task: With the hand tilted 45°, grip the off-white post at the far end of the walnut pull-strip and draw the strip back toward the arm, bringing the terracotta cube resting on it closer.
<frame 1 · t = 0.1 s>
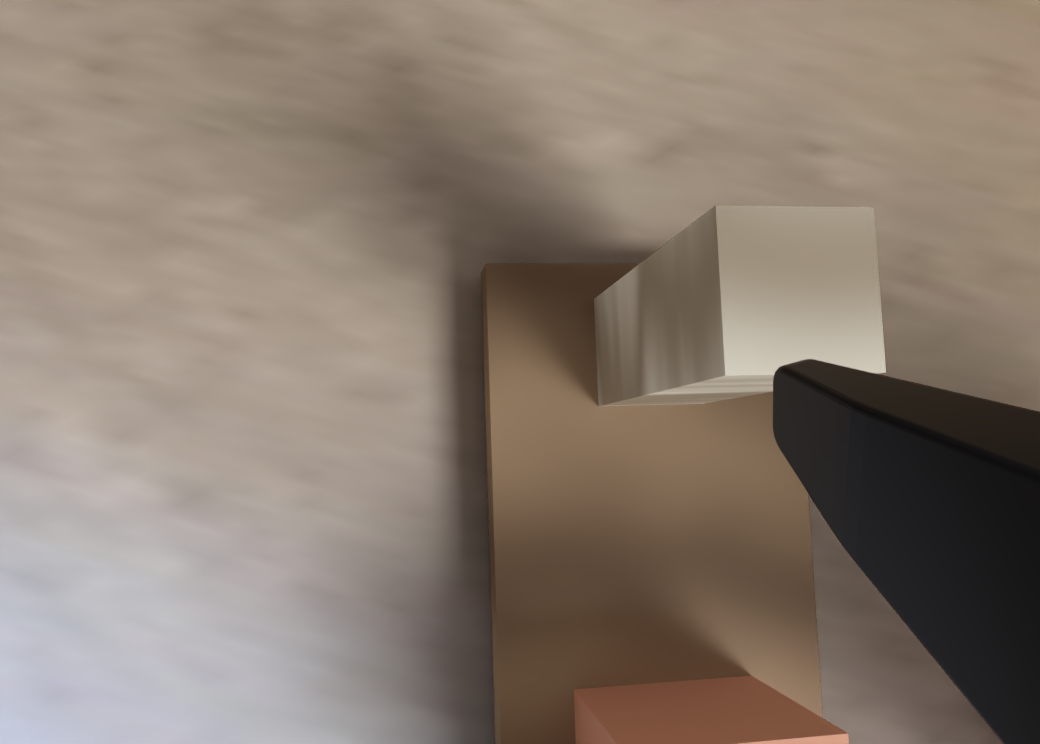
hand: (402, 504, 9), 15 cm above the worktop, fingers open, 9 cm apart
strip: (713, 613, 19), point 5 cm above the worktop, slide at 0.0 cm, touching cube
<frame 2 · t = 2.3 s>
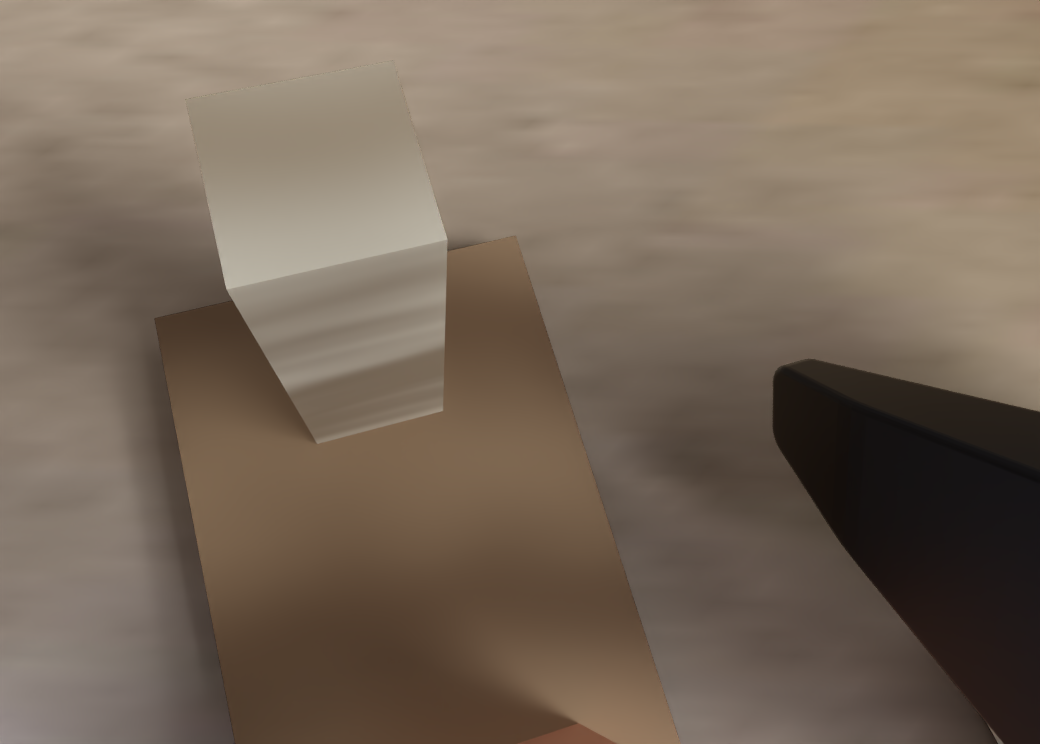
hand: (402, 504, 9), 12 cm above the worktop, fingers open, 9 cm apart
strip: (436, 640, 15), point 5 cm above the worktop, slide at 0.0 cm, touching cube
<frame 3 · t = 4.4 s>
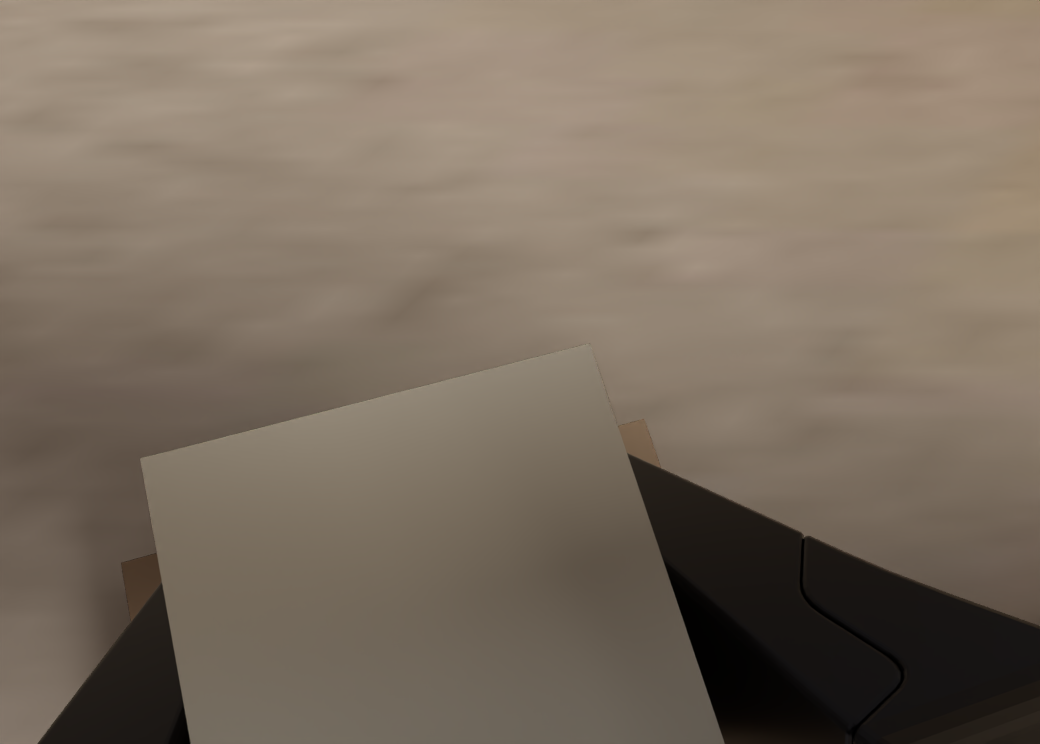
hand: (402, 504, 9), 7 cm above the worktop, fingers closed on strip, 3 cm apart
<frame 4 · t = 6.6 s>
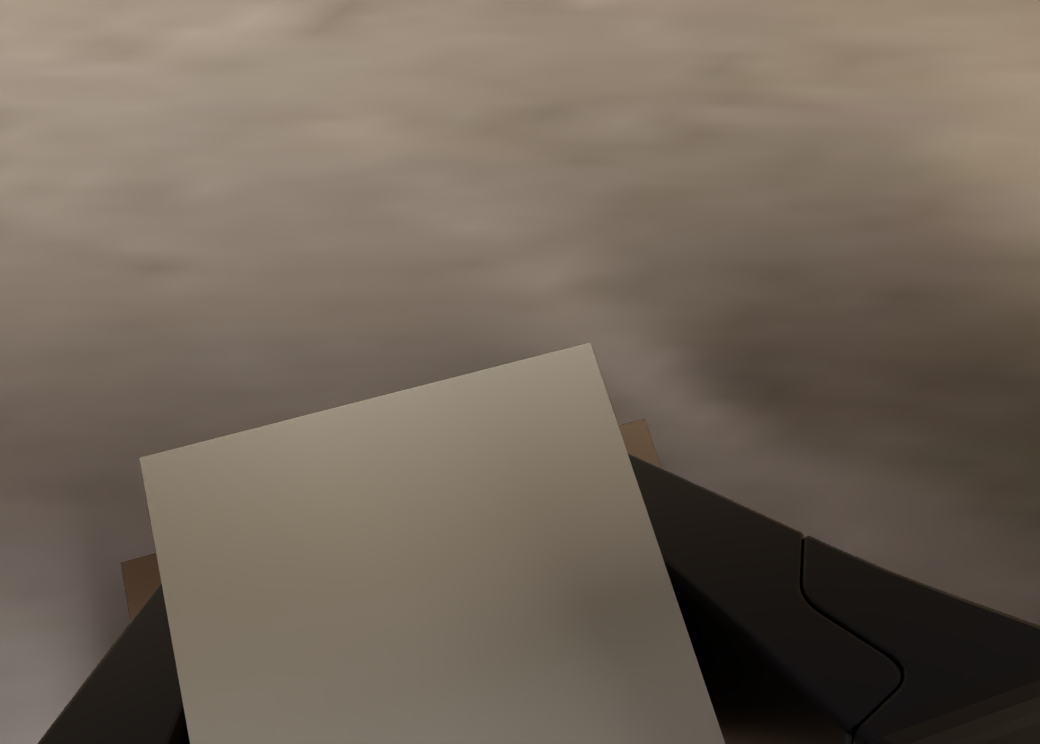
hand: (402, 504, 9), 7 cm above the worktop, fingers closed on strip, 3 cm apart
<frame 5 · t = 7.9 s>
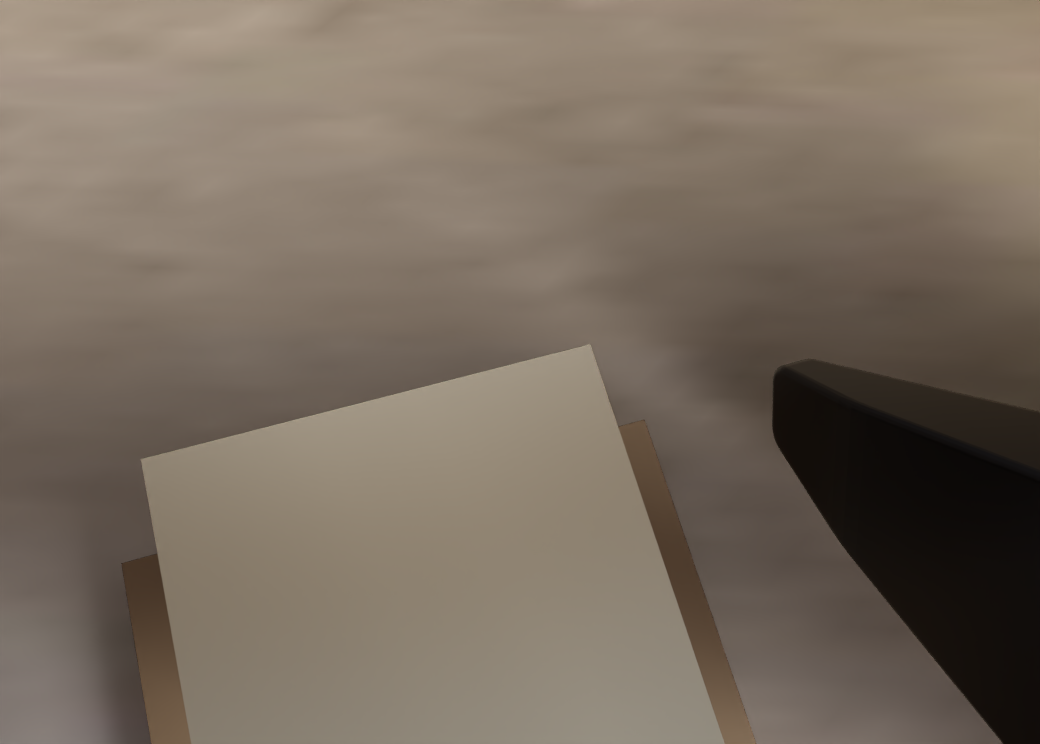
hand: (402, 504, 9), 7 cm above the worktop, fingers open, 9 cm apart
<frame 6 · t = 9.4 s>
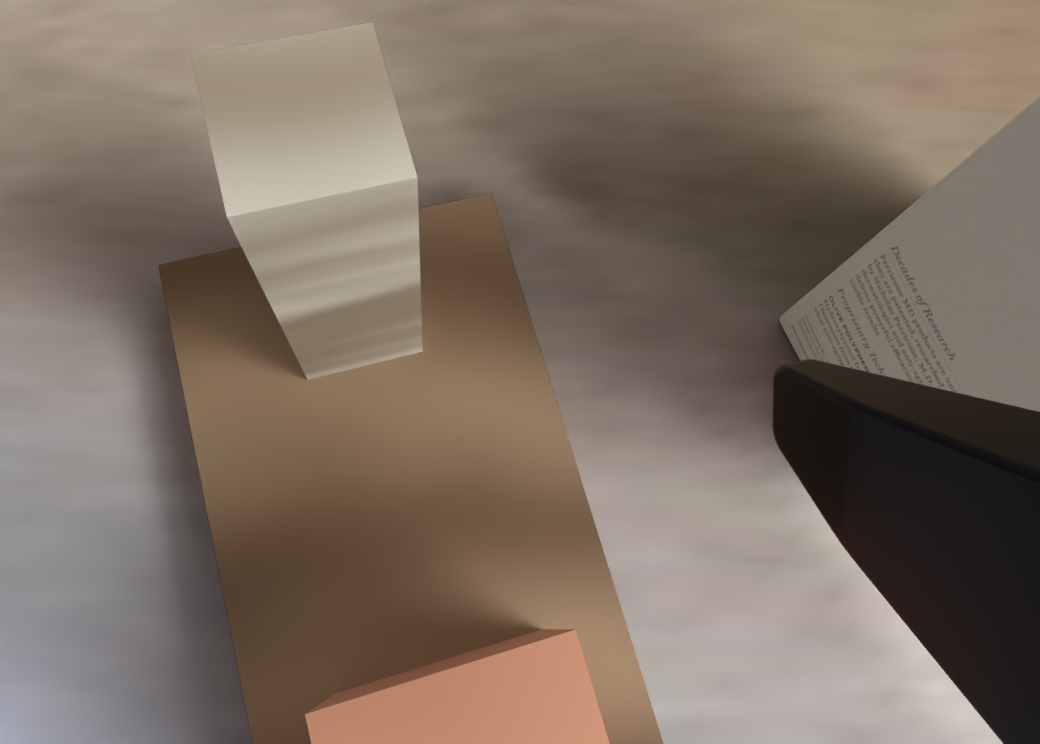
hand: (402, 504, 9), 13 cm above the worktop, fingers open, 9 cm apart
skincare box: (932, 373, 25), on the worktop
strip: (411, 540, 17), point 5 cm above the worktop, slide at 7.0 cm, touching cube
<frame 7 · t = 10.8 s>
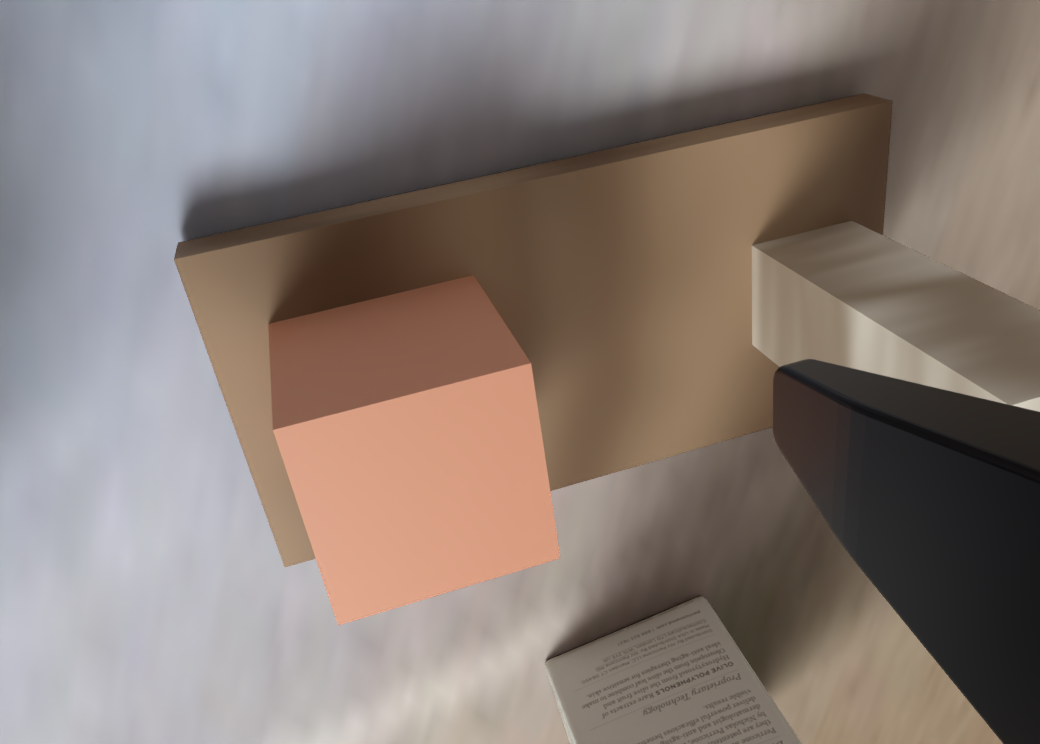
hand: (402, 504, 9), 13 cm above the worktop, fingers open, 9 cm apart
skincare box: (637, 692, 32), on the worktop
cube: (394, 388, 22), point 1 cm above the worktop, touching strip
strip: (637, 411, 19), point 5 cm above the worktop, slide at 7.0 cm, touching cube
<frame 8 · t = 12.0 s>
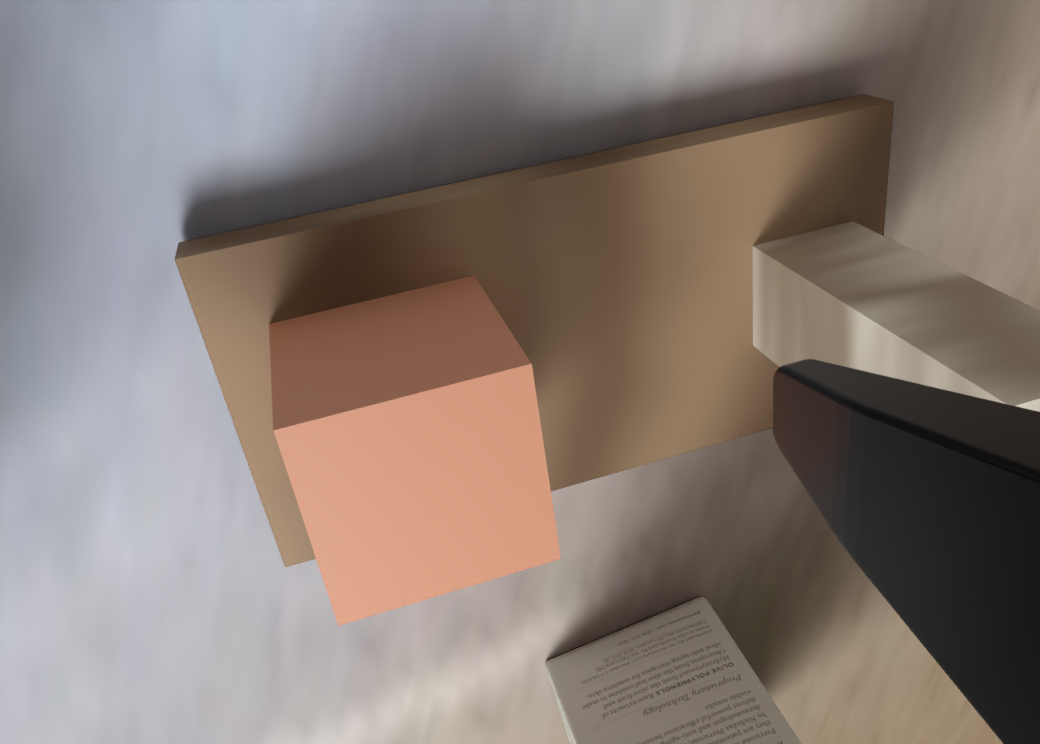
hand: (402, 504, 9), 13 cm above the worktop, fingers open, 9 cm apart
skincare box: (637, 693, 32), on the worktop
cube: (395, 388, 22), point 1 cm above the worktop, touching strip
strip: (638, 412, 19), point 5 cm above the worktop, slide at 7.0 cm, touching cube
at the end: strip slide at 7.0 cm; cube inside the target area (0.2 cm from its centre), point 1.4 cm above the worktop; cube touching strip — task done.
